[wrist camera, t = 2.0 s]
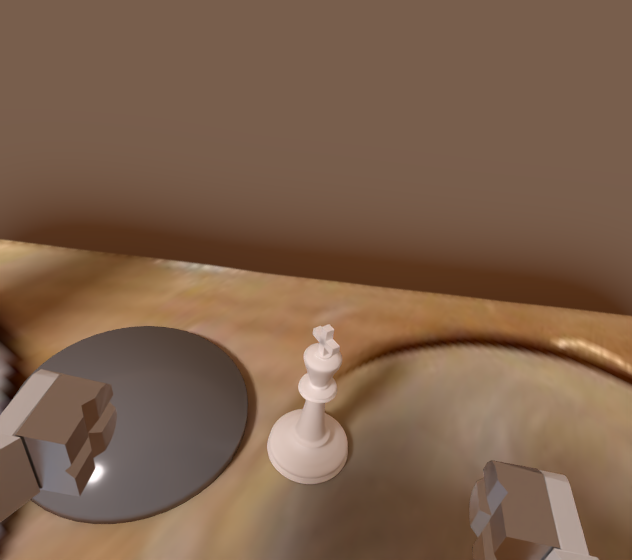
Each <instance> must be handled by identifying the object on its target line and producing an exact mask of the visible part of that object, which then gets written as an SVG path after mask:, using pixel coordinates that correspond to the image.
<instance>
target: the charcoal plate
mask: <svg viewBox="0 0 632 560" xmlns="http://www.w3.org/2000/svg"><path fill="white" fill-rule="evenodd" d="M40 369H43V370H48V371H53V372H58V373H63V374H67V375H71V376H75V377H80V378H84V379H89V380H93V381H98V382H102V383H107V384H111V386H112V390H113V394H114V395H113V396H112V398H111V400H110V403H111V404H112V405H113V406H114V407H115V408H116V412H117V421H116V427H115V430H114V434H113V437H112V439H111V441H110V443H109V445H108V447H107V449H106V450H105V451H104V452H102V453H101V454H99V455H97V456H96V457H94V463H95V468H96V469H95V471H94V472H93V474H92V476H91V478H90V479H89V481H88V483H87V485H86V487H85V488H84V490H83V492H82V494H81V496H80V497H79V496H73V495H68V494H62V493H57V492H51V491H46V490H40V493H38V494H37V495H36V496H34V497H33V498H32V499H30V500H31V501H32V502H34V503H35V504H37V505H38V506H40V507H41V508H43V509H44V510H46V511H48V512H50V513H53V514H55V515H57V516H59V517H62V518H66V519H70V520H73V521H77V522H84V523H92V524H116V523H125V522H132V521H136V520H141V519H145V518H149V517H152V516H155V515H158V514H160V513H163V512H166V511H168V510H170V509H172V508H175V507H177V506H179V505H181V504H183V503H184V502H186V501H188V500H189V499H191V498H192V497H194V496H196V495H197V494H199V493H200V492H201V491H202V490H204V489H205V488H206V487H207V486H209V485H210V484H211V483H212V482H213V481H214V480H215V479H216V478H217V477H218V476H219V475H220V474H221V473H222V472H223V471H224V469H225V468H226V467H227V465H228V464H229V463H230V461H231V460H232V458H233V457H234V455H235V453H236V451H237V450H238V448H239V446H240V443H241V440H242V438H243V435H244V432H245V427H246V423H247V409H248V400H247V390H246V387H245V383H244V380H243V378H242V375H241V373H240V371H239V369H238V368H237V366H236V365H235V363H234V362H233V361H232V360H231V359H230V357H229V356H228V355H227V354H226V353H225V352H224V351H222V350H221V349H220V348H219V347H218V346H216V345H214V344H213V343H211V342H210V341H208V340H206V339H204V338H202V337H200V336H198V335H195V334H192V333H189V332H186V331H182V330H178V329H174V328H166V327H155V326H141V327H129V328H121V329H116V330H112V331H107V332H104V333H100V334H97V335H94V336H91V337H89V338H86V339H83V340H81V341H79V342H77V343H75V344H73V345H71V346H69V347H67V348H65V349H63V350H62V351H60V352H58V353H57V354H55V355H54V356H52V357H51V358H50V359H48V360H47V361H46V362H44V363H43V364H42V365H41V366H40V367H39V368H38V369H36V370H35V371H34V372H33V373H32V374H31V375H30V377H31V376H32V375H33V374H34V373H36V372H37V371H39V370H40ZM30 377H29V378H28V379H27V380H26V381H25V382H24V383H23V385H22V386H21V388H20V389H19V390H18V392H19V391H20V390H21V389H22V387H23V386H24V385H25V384H26V382H27V381H28V380H29V379H30ZM18 392H17V393H16V395H17V394H18ZM16 395H15V396H16Z"/></svg>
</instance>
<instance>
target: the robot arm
mask: <svg viewBox="0 0 632 560" xmlns="http://www.w3.org/2000/svg"><path fill="white" fill-rule="evenodd" d="M113 395H114V394H113V390H112V386H111V384H107V383H102V382H98V381H93V380H89V379H84V378H80V377H75V376H71V375H67V374H63V373H58V372H53V371H48V370H43V369H40V370H39V371H37V372H36V373H34V374H33V375H32V376H31V377H30V379H29V380H28V381H27V382H26V384H25V385H24V386H23V387H22V389H21V390H20V391H19V392H18V394H17V395H16V396H15V397H14V399H13V400H12V401H11V402H10V404H9V405H8V406H7V407H6V409H5V410H4V411H3V412H2V414H1V415H0V522H1V521H3V520H4V519H5V518H7V517H8V516H9V515H11V514H12V513H13V512H15V511H16V510H17V509H18V508H20V507H21V506H22V505H24V504H25V503H26V502H28V501H29V500H30V499H32V498H33V497H34V496H36V495H37V494H38V493H40V490H46V491H51V492H57V493H62V494H68V495H73V496H79V497H80V496H81V494H82V492H83V490H84V488H85V487H86V485H87V483H88V481H89V479H90V478H91V476H92V474H93V472H94V471H95V469H96V468H95V463H94V457H96V456H97V455H99V454H101V453H102V452H104V451H105V450H106V449H107V447H108V445H109V443H110V441H111V439H112V437H113V434H114V430H115V427H116V421H117V412H116V408H115V407H114V406H113V405H112V404H111V403H110V400H111V398H112V396H113ZM483 472H484V478H483V479H481V480H479V481H477V482H476V484H475V486H474V488H473V490H472V493H471V498H470V503H469V519H470V527H471V528H472V529H473V531H474V532H475V534H476V535H477V537H478V539H477V540H476V542H475V543H474V545H473V547H472V552H473V560H599V559H598V557H594V556H590V554H589V551H588V547H587V544H586V540H585V537H584V533H583V529H582V526H581V522H580V519H579V515H578V511H577V508H576V504H575V501H574V497H573V493H572V490H571V486H570V483H569V480H568V479H567V477H566V476H565V475H562V474H558V473H553V472H547V471H542V470H538V469H536V468H530V467H525V466H520V465H514V464H509V463H503V462H498V461H493V460H491V461H489V462H487V464H486V466H485V467H484V469H483Z"/></svg>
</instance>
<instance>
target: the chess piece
mask: <svg viewBox="0 0 632 560" xmlns="http://www.w3.org/2000/svg"><path fill="white" fill-rule="evenodd" d="M333 333H334V329H333V328H332V327H331V326H330V325H329V324H328V325H326V326H323V327H321V326H319V327H316V328H314V329H313V335H314V337H315V338H316V339H317V340H318V341H319V342H320V343H315V344H312V345H310V346H309V347H308V348H307V349H306V350H305V352H304V362H305V366H306V368H307V371H308V373H306V374H305V375H304V376H303V377H302V378H301V380H300V381H299V384H298V389H299V392H300V394H301V395H302V397H303V398H305V399H306V402H305V405H304V408H303V409H298V410H294V411H291V412H289V413H287V414H285V415H283V416H282V417H281V418H279V419H278V420H277V422H276V423H275V424H274V426H273V427H272V430H271V432H270V435H269V438H268V443H267V450H268V455H269V458H270V461H271V463H272V464H273V466H274V467H275V468H276V470H277V471H278V472H279V473H281V474H282V475H283V476H285V477H286V478H288V479H290V480H292V481H295V482H298V483H302V484H317V483H322V482H325V481H327V480H330V479H331V478H333V477H334V476H336V475H337V474H338V473H339V472H340V471H341V470H342V468H343V467H344V465H345V462H346V460H347V455H348V441H347V437H346V434H345V431H344V430H343V428H342V426H341V425H340V424H339V423H338V422H337V421H336V420H335V419H334V418H333V417H331V416H330V415H328V414H326V413H325V403H326V402H329V401H331V400H332V399H333V398H334V397H335V396H336V394H337V385H336V382H335V380H334V379H333V375H334V374H335V373H336V372H337V370H338V369H339V367H340V366H341V363H342V355H341V353H340V351H339V349H340V346H339V345H338V344H337V343H336V342H335V341H334V340H333Z"/></svg>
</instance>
